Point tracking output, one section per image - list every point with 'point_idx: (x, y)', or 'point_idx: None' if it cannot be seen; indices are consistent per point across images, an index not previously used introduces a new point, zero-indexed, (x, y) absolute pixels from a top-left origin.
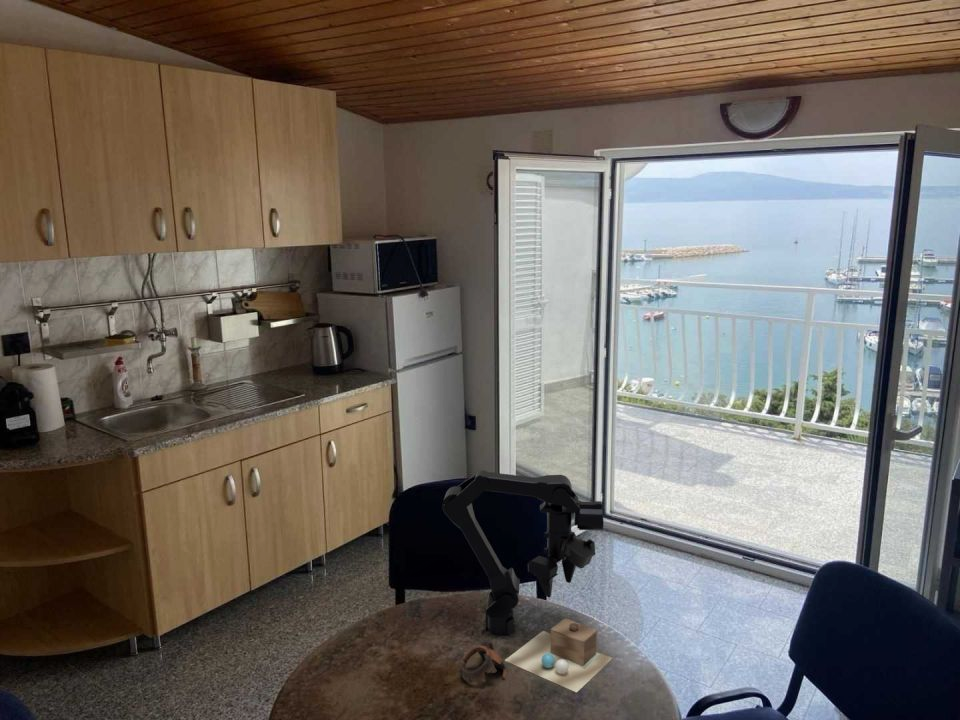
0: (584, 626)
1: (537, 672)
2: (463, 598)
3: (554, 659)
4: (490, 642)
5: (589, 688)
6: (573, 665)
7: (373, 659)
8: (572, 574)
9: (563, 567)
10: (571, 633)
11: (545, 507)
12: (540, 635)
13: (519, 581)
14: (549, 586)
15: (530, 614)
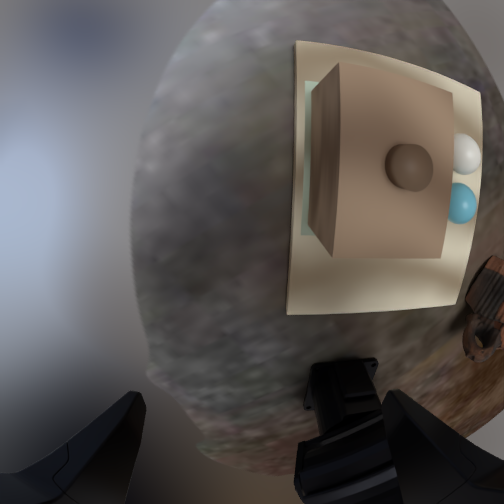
0: (350, 129)
1: None
2: (254, 465)
3: (457, 186)
4: (482, 350)
5: (437, 71)
6: None
7: (460, 419)
8: (102, 428)
9: (125, 490)
10: (433, 162)
11: None
12: (317, 306)
13: (318, 495)
14: (462, 438)
15: (212, 378)
